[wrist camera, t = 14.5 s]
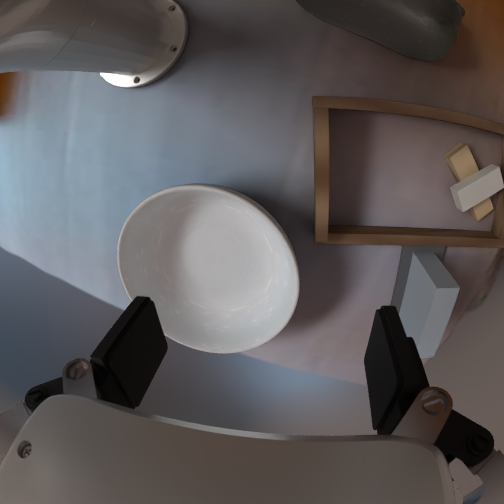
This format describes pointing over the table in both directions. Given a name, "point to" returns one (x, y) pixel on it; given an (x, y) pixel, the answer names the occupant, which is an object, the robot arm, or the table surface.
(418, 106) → the wooden tray
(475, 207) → the offcut lower
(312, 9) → the rock
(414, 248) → the mat
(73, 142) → the table surface
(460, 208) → the offcut upper
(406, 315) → the light grey block
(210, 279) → the serving bowl
